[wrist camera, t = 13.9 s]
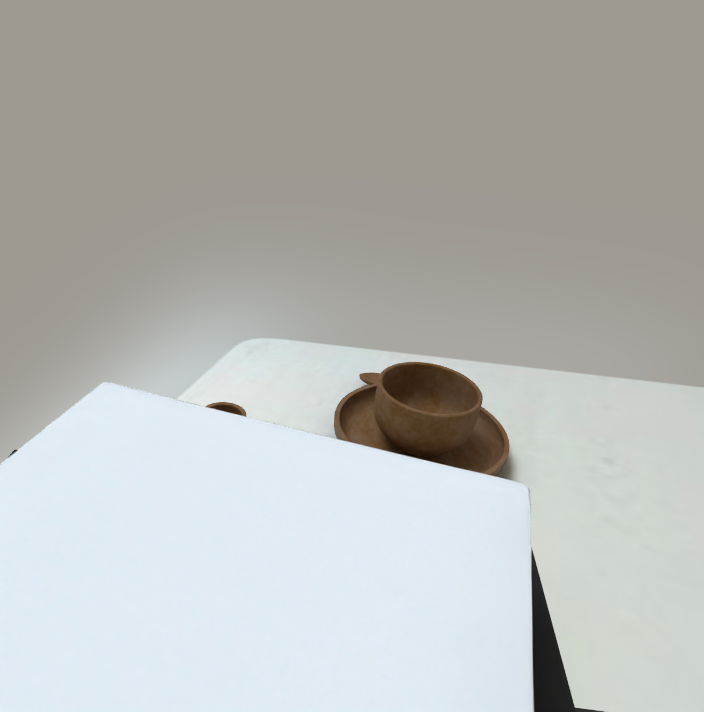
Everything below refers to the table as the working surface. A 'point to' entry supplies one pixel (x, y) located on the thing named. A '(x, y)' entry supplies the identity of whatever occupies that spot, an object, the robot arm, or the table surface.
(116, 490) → the white packaging box
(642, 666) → the table surface
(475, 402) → the place setting
